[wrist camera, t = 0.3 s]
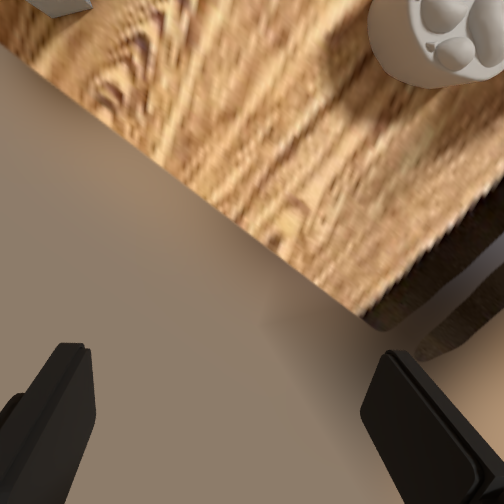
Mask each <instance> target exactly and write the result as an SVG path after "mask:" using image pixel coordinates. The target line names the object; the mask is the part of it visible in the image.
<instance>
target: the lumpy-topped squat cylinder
mask: <svg viewBox="0 0 504 504" xmlns="http://www.w3.org/2000/svg"><path fill="white" fill-rule="evenodd" d="M367 29H368V36H369V41H370V45H371V48H372V51H373V53H374V55H375V57H376V58H377V60H378V62H379V63H380V65H381V66H382V68H383V69H384V71H385V72H386V73H387V74H388V75H390V76H392V77H393V78H395V79H397V80H399V81H402V82H404V83H407V84H409V85H412V86H417V87H421V88H425V89H436V88H442V87H449V86H455V85H462V84H468V83H474V82H481V81H486V80H489V79H491V78H493V77H494V76H496V75H497V74H499V73H500V72H501V71H503V70H504V0H373V1H372V3H371V6H370V9H369V12H368V18H367Z"/></svg>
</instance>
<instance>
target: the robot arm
mask: <svg viewBox="0 0 504 504" xmlns="http://www.w3.org/2000/svg"><path fill="white" fill-rule="evenodd" d="M360 416H361V419H362V422H363V423H364V426H365V427H366V429H367V431H368V433H369V435H370V437H371V439H372V441H373V443H374V445H375V447H376V449H377V451H378V452H379V455H380V456H381V458H382V460H383V462H384V464H385V466H386V468H387V470H388V472H389V474H390V476H391V478H392V480H393V482H394V484H395V486H396V488H397V490H398V492H399V493H400V495H401V497H402V499H403V501H404V503H405V504H504V462H503V461H502V460H501V458H500V457H499V456H498V455H497V454H496V453H495V451H494V450H493V449H492V448H491V447H490V446H489V445H488V443H487V442H486V441H485V440H484V439H483V438H482V436H481V435H480V434H479V433H478V432H477V431H476V430H475V429H474V427H473V426H472V425H471V424H470V423H469V422H468V421H467V419H466V418H465V417H464V416H463V415H462V414H461V412H460V411H459V410H458V409H457V408H456V407H455V406H454V405H453V404H452V402H451V401H450V400H449V399H448V398H447V396H446V395H445V394H444V393H443V392H442V391H441V389H440V388H439V387H438V386H437V385H436V384H435V383H434V381H433V380H432V379H431V378H430V377H429V376H428V375H427V373H426V372H425V371H424V370H423V369H422V368H421V367H420V365H419V364H418V363H417V362H416V361H415V360H414V358H413V357H412V356H411V355H410V354H409V353H408V352H407V351H405V350H388V351H386V352H385V354H383V355H382V356H381V358H380V361H379V363H378V366H377V368H376V371H375V373H374V376H373V378H372V381H371V383H370V386H369V388H368V391H367V393H366V396H365V399H364V401H363V404H362V406H361V409H360ZM95 418H96V407H95V395H94V383H93V372H92V359H91V350H90V349H85V347H84V344H83V343H60V344H59V345H58V346H57V347H56V348H55V350H54V351H53V353H52V354H51V356H50V357H49V359H48V360H47V362H46V363H45V365H44V366H43V368H42V369H41V370H40V372H39V374H38V375H37V376H36V378H35V379H34V381H33V382H32V384H31V385H30V387H29V388H28V390H27V391H26V392H25V393H17V394H16V395H14V396H13V397H12V398H11V399H10V400H9V401H8V403H7V404H6V405H5V407H4V408H3V409H2V411H1V412H0V504H64V503H65V501H66V498H67V496H68V493H69V490H70V488H71V485H72V482H73V480H74V477H75V475H76V472H77V469H78V467H79V464H80V461H81V459H82V456H83V453H84V451H85V448H86V445H87V442H88V440H89V438H90V435H91V432H92V430H93V427H94V424H95Z"/></svg>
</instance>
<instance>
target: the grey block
mask: <svg viewBox="0 0 504 504" xmlns="http://www.w3.org/2000/svg"><path fill="white" fill-rule="evenodd" d="M26 1H27V2H29V3H30V4H32V5H33V6H35V7H36V8H38V9H39V10H41V11H42V12H44V13H45V14H46V15H48V16H49V17H51V18H56V17H60V16H64V15H68V14H72V13H76V12H80V11H84V10H88V9H92V8H93V7H92V4H91V2H90V0H26Z"/></svg>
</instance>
